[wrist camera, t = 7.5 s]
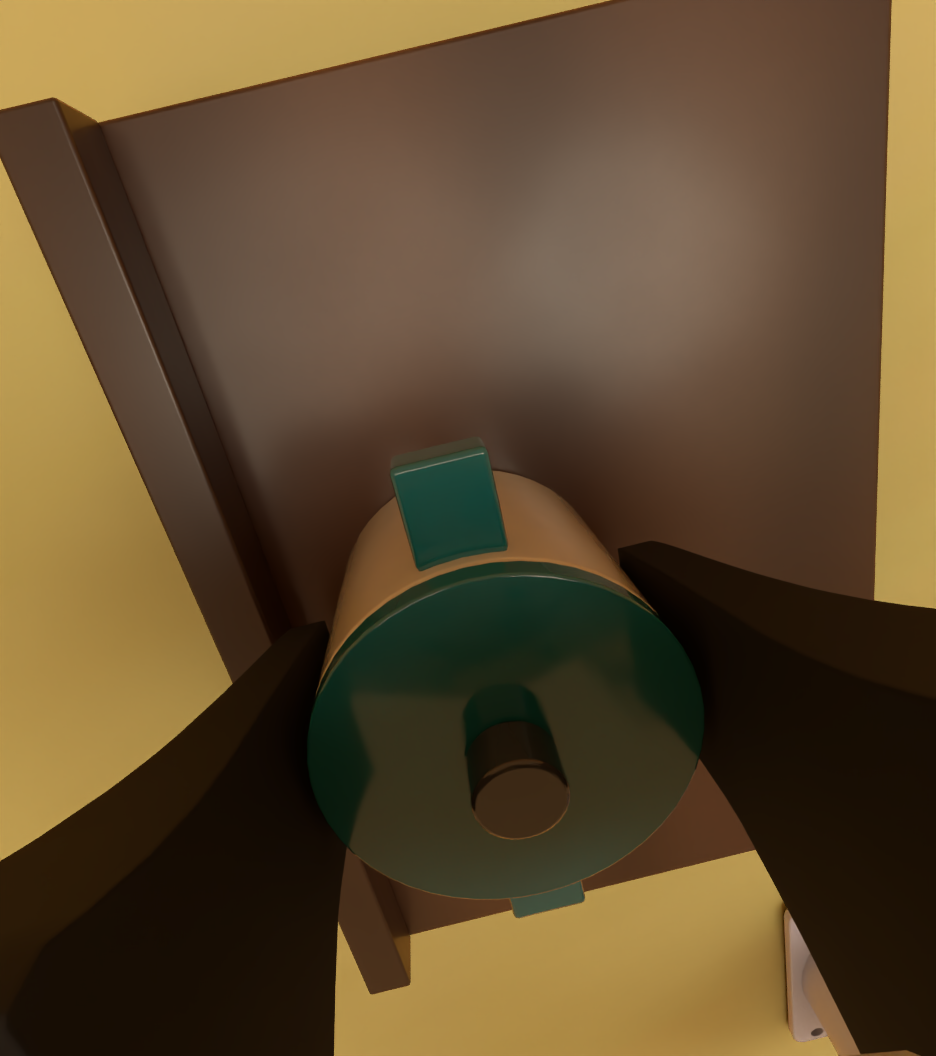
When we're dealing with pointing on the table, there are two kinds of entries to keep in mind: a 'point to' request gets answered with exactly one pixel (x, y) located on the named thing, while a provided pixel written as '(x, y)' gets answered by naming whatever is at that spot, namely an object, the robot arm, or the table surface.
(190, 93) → the table surface
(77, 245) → the shelf
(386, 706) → the pot
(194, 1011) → the robot arm
